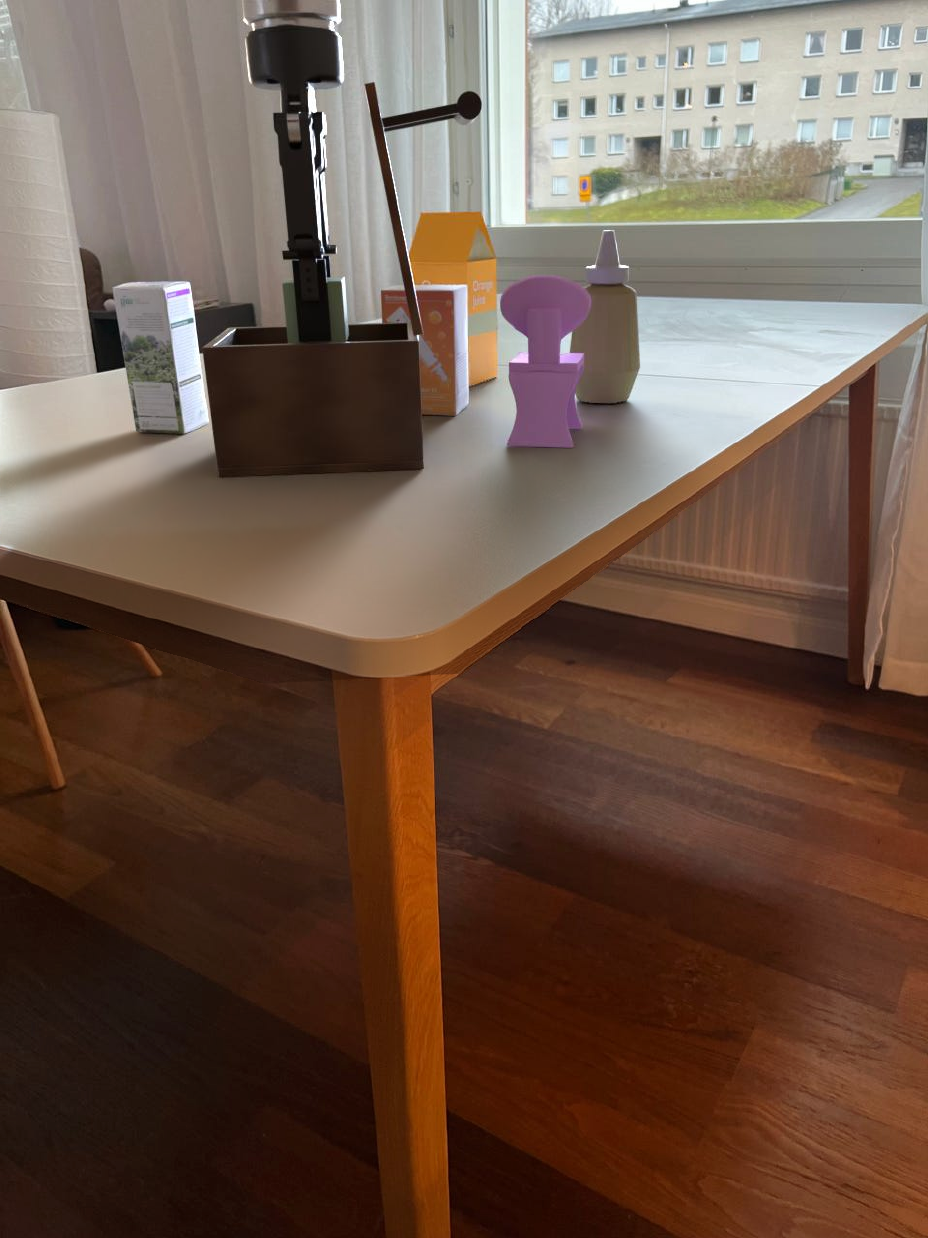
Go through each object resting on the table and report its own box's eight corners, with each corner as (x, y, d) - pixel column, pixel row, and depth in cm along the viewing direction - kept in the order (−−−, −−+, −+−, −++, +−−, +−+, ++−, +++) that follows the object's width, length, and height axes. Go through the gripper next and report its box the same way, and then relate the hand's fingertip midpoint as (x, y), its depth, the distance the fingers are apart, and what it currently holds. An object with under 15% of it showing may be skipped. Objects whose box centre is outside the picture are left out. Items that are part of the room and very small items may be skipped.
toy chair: (592, 427, 97) (597, 269, 91) (584, 447, 89) (589, 276, 83) (511, 425, 98) (510, 270, 92) (496, 445, 90) (494, 277, 84)
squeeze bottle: (556, 396, 112) (558, 230, 105) (618, 391, 114) (625, 228, 107) (585, 409, 105) (590, 232, 98) (651, 403, 107) (660, 229, 100)
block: (288, 344, 82) (281, 282, 80) (293, 337, 87) (287, 278, 85) (346, 342, 82) (341, 280, 80) (349, 334, 87) (344, 276, 85)
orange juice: (469, 386, 119) (465, 212, 111) (409, 382, 123) (401, 213, 115) (498, 377, 125) (497, 210, 117) (441, 372, 129) (435, 211, 121)
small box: (385, 414, 105) (378, 288, 99) (401, 403, 110) (396, 283, 105) (457, 416, 103) (454, 288, 98) (470, 404, 109) (467, 283, 103)
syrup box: (210, 422, 103) (192, 279, 97) (184, 435, 97) (162, 284, 92) (162, 421, 104) (141, 280, 98) (133, 433, 99) (109, 284, 93)
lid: (363, 83, 71) (480, 60, 71) (368, 101, 84) (467, 81, 83) (413, 335, 78) (519, 314, 78) (411, 317, 91) (502, 299, 91)
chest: (218, 477, 82) (201, 347, 78) (241, 441, 95) (228, 327, 90) (423, 469, 83) (418, 340, 79) (420, 434, 95) (415, 321, 91)
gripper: (259, 47, 83) (285, 325, 93) (225, 9, 67) (261, 352, 76) (346, 45, 84) (363, 323, 93) (334, 7, 67) (356, 349, 76)
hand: (317, 335), depth 85 cm, fingers closed on block, 5 cm apart
